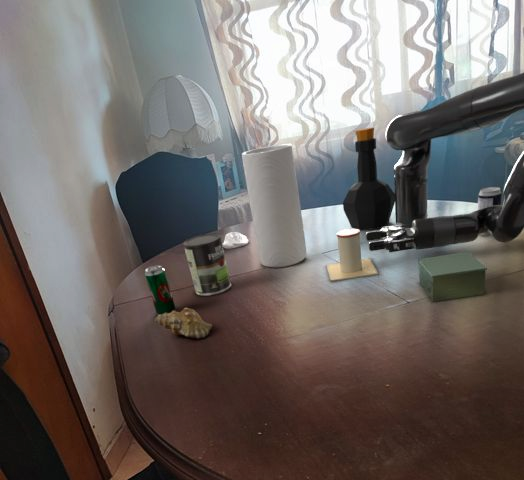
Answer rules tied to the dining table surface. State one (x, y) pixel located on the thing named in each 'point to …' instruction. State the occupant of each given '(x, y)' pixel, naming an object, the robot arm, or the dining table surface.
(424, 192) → the robot arm
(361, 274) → the mat
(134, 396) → the dining table surface
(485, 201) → the beverage can
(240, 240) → the white lumpy mound
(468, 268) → the tin
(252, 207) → the vase
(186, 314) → the seashell
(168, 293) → the soda can
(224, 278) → the coffee can
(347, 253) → the canister
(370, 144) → the bottle
